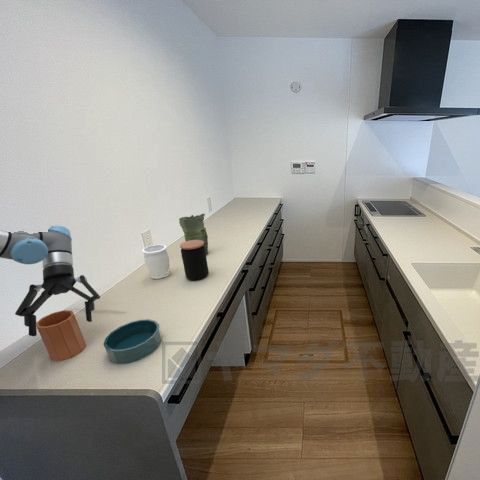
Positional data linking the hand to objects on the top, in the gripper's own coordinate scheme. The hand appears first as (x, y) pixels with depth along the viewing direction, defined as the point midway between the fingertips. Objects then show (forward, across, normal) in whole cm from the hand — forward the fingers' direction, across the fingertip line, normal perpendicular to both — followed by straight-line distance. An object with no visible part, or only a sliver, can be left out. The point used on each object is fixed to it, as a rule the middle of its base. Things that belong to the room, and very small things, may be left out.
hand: (62, 328), depth 84 cm
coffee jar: (-16, -44, -28) cm, 55 cm away
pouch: (-36, -48, -48) cm, 77 cm away
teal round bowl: (+13, -19, +2) cm, 23 cm away
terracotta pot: (+7, 0, -4) cm, 9 cm away
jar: (-24, -28, -36) cm, 51 cm away
